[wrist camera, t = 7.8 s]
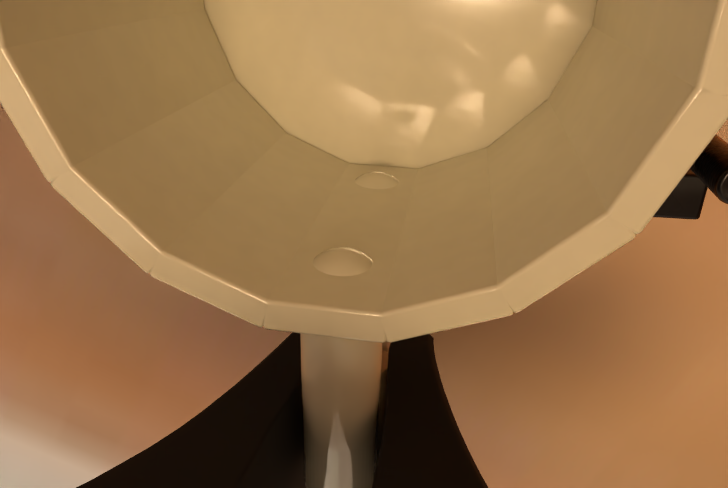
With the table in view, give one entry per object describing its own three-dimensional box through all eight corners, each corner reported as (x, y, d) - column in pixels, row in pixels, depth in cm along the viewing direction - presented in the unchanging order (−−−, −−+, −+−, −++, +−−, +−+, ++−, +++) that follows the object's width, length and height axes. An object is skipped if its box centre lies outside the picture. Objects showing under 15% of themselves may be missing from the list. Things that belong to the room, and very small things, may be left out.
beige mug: (168, -299, 9) (-195, -604, 4) (677, -313, 8) (995, -728, 3) (222, 319, 14) (84, 520, 9) (545, 357, 13) (591, 606, 8)
